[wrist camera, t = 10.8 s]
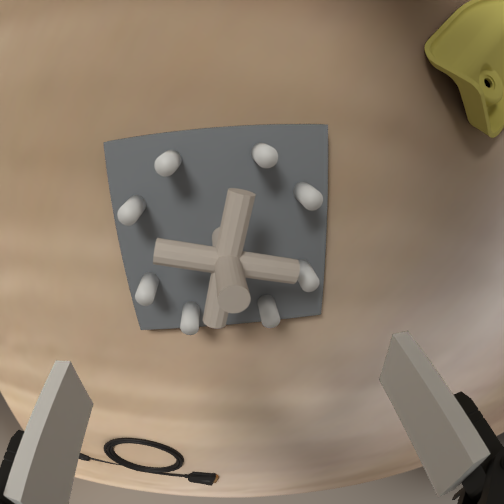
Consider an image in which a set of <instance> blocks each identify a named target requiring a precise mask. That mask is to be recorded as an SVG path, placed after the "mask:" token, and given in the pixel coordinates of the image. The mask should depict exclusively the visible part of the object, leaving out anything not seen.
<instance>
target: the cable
mask: <svg viewBox="0 0 504 504" xmlns="http://www.w3.org/2000/svg"><path fill="white" fill-rule="evenodd" d="M122 443H134V444H142V445H147V446H151V447H155V448H158V449H161V450H164V451H166V452H168V453H170V454H171V455H173V456H174V457H175V458H176V460H177V461H176V463H175V464H173V465H171V466H168V467H161V468H154V467H146V466H141V465H137V464H134V463H131V462H128V461H126V460H124V459H122V458H121V457H119V456H118V455H117V454H116V453H115V452H114V450H113V447H114V446H115V445H117V444H122ZM106 449H107V450H106ZM104 451H105V453H106V455H107V456H108V457H109V458H110V459H112V460H113V461H115V462H116V463H118V464H116V465H122V466H125V467H127V468H130V469H133V470H136V471H141V472H148V473H154V474H161V475H169V476H179V477H185V478H188V481H190V482H194V483H200V484H206V485H212V484H213V483H216V482H217V480H218V478H219V477H218V475H216V473H202V472H192V473H190V474H185V475H180V474H169V473H161V472H171V471H175V470H177V469H179V468H180V467H181V466H182V464H183V462H184V459H183V456H182V455H181V454H180V453H179V452H178V451H176V450H174V449H172V448H170V447H168V446H165V445H163V444H160V443H156V442H152V441H147V440H142V439H134V438H118V439H113V440H110V441H108V442H107V443H106V444H105V445H104ZM79 459H81V460H86V461H89V460H90V459H92V460H96V461H101V462H105V463H110V464H115V463H111V462H106V461H102V460H98V459H94V458H90V457H89V456H87V455H84V454H82V453H80V455H79Z"/></svg>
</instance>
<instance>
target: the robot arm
mask: <svg viewBox="0 0 504 504" xmlns="http://www.w3.org/2000/svg"><path fill="white" fill-rule="evenodd" d="M379 380H380V382H381V384H382V386H383V388H384V389H385V391H386V393H387V395H388V397H389V399H390V401H391V403H392V405H393V407H394V409H395V410H396V412H397V414H398V416H399V418H400V420H401V422H402V424H403V426H404V428H405V430H406V432H407V434H408V436H409V438H410V440H411V442H412V444H413V446H414V448H415V450H416V452H417V454H418V456H419V458H420V461H421V463H422V465H423V467H424V469H425V471H426V473H427V475H428V477H429V480H430V482H431V483H432V486H433V488H434V490H435V492H436V495H437V497H440V496H442V495H444V494H446V493H448V492H450V491H452V490H454V489H455V488H456V487H457V486H458V485H460V484H461V483H462V485H463V488H462V489H461V490H459V491H458V492H457V493H456V494H455V495H454V497H453V499H452V500H455V499H456V498H457V497H459V496H460V497H459V499H458V504H504V447H503V446H502V444H501V443H500V442H499V440H498V438H497V437H496V435H495V434H494V432H493V431H492V429H491V427H490V426H489V424H488V423H487V421H486V420H485V418H483V415H482V414H481V412H480V411H478V408H477V406H476V405H475V404H474V402H473V401H472V399H471V398H469V397H468V396H467V395H465V394H464V393H463V392H459V393H457V394H454V395H453V394H452V392H451V391H450V389H449V388H448V386H447V385H446V383H445V382H444V380H443V379H442V377H441V376H440V375H439V373H438V372H437V370H436V369H435V367H434V366H433V365H432V363H431V362H430V360H429V359H428V358H427V356H426V355H425V354H424V352H423V351H422V349H421V348H420V347H419V345H418V344H417V343H416V341H415V340H414V339H413V337H412V336H411V334H410V333H409V332H408V331H405V332H401V333H396V334H393V335H392V338H391V342H390V345H389V349H388V352H387V356H386V359H385V362H384V366H383V369H382V372H381V375H380V378H379ZM92 407H93V402H92V400H91V398H90V397H89V395H88V393H87V391H86V390H85V388H84V386H83V384H82V382H81V380H80V379H79V377H78V375H77V373H76V371H75V369H74V367H73V365H72V363H71V361H58V360H56V361H55V363H54V365H53V367H52V370H51V372H50V374H49V376H48V378H47V380H46V382H45V384H44V387H43V389H42V391H41V393H40V396H39V398H38V400H37V402H36V405H35V407H34V409H33V412H32V414H31V417H30V419H29V422H28V424H27V427H26V429H25V431H21V430H18V431H17V432H16V433H15V434H14V436H13V437H12V438H11V440H10V442H9V445H8V448H7V452H6V453H5V455H4V460H3V461H2V464H1V467H0V504H69V499H70V494H71V490H72V485H73V480H74V476H75V471H76V467H77V463H78V459H79V455H80V451H81V447H82V443H83V439H84V435H85V432H86V428H87V424H88V421H89V417H90V414H91V411H92Z"/></svg>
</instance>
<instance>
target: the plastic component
mask: <svg viewBox="0 0 504 504" xmlns="http://www.w3.org/2000/svg"><path fill="white" fill-rule="evenodd" d="M425 53H426V55H427V58H428V60H429V61H430V63H431V64H432V65H433V66H434V67H435V68H436V69H438V70H440V71H442V72H443V73H445V74H447V75H448V76H449V77H451V78H452V79H453V80H454V82H455V83H456V84H457V86H458V88H459V91H460V94H461V97H462V101H463V104H464V107H465V111H466V114H467V118H468V121H469V123H470V124H471V125H472V126H474V127H476V128H477V129H479V130H480V131H482V132H483V133H485V134H486V135H488V136H489V137H491V138H494V137H496V136H497V135H498V134H499V133H500V132H501V131H502V129H503V128H504V0H471V1H469V2H467V3H466V4H464V5H462V6H461V7H460V8H458V9H457V10H456V11H455V12H454V13H453V14H452V15H451V16H450V17H449V19H448V20H447V21H446V22H445V23H444V24H443V25H442V26H441V27H440V28H439V29H438V30H437V31H436V32H435V33H434V34H433V35H432V36H431V37H430V38H429V39H428V41H427V42H426V44H425ZM484 79H486V80H487V81H488V82H489V83H490V88H488V87H487V86H486V85H485V83H484Z"/></svg>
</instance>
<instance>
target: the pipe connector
mask: <svg viewBox="0 0 504 504" xmlns="http://www.w3.org/2000/svg"><path fill="white" fill-rule="evenodd" d="M255 196H256V194H254V193H253V192H250V191H247V190H243V189H237V188H229V189H228V192H227V196H226V201H225V206H224V211H223V216H222V220H221V225H220V227H218V228H217V229H215V230H214V232H213V234H212V245H213V246H207V245H201V244H194V243H188V242H182V241H175V240H169V239H162V238H157V239H156V243H155V249H154V256H153V264H155V265H162V266H168V267H175V268H181V269H188V270H195V271H202V272H209V273H211V276H210V282H209V287H208V293H207V298H206V304H205V309H204V315H203V322H204V324H205V325H207V326H208V327H211V328H214V329H220V328H223V327H225V325H226V322H227V317H228V313H239V312H242V311H243V310H245V309H246V308H247V307H248V306H249V304H250V300H251V297H250V293H249V289H248V286H247V282H246V278H252V279H259V280H267V281H274V282H282V283H290V284H295V283H296V282H297V279H298V277H299V272H300V264H299V260H297V259H291V258H285V257H278V256H272V255H266V254H259V253H253V252H246V251H243V247H244V243H245V238H246V234H247V230H248V226H249V221H250V217H251V213H252V208H253V204H254V200H255Z"/></svg>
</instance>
